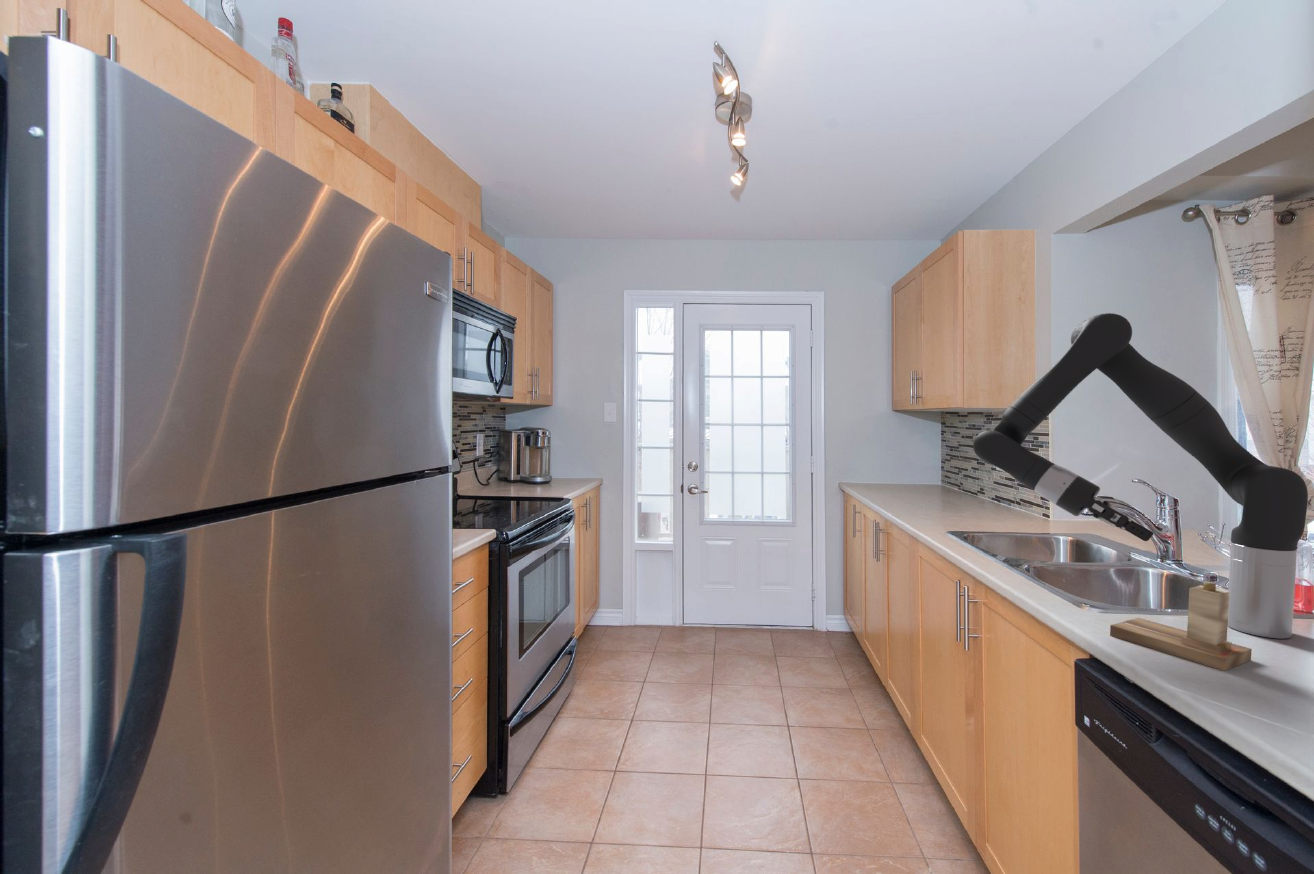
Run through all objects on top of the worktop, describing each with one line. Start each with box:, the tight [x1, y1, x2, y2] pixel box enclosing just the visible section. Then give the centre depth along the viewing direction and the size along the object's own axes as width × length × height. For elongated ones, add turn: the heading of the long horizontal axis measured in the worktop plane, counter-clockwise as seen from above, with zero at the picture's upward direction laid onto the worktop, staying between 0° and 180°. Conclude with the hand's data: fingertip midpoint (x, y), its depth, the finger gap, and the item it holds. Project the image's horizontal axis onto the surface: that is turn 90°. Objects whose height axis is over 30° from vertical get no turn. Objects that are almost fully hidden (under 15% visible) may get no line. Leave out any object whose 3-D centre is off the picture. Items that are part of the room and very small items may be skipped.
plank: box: [1109, 617, 1252, 671], centre depth 109 cm, size 10×17×2 cm, turn 26°
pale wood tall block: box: [1182, 581, 1233, 654], centre depth 103 cm, size 5×6×11 cm
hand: (1150, 537), depth 114 cm, fingers open, 8 cm apart
